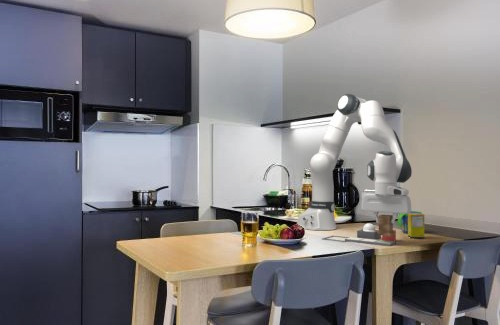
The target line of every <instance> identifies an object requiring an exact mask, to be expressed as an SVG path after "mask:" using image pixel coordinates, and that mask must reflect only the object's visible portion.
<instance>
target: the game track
mask: <svg viewBox="0 0 500 325" xmlns="http://www.w3.org/2000/svg"><path fill="white" fill-rule="evenodd" d="M344 241H347V242H350V243H358V244H368V245H375V246H376V245H377V246H383V247H384V246H385V247H391V246H393V245H396V244H397V241H385V240H382V239H377V240H375V239H366V238H357V236H356V237H355V236H350V238H345V239H344Z"/></svg>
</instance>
